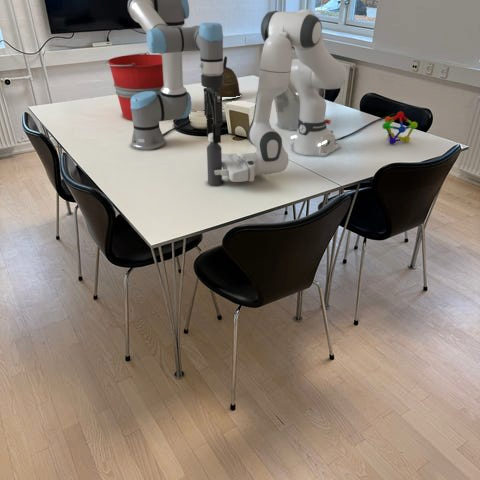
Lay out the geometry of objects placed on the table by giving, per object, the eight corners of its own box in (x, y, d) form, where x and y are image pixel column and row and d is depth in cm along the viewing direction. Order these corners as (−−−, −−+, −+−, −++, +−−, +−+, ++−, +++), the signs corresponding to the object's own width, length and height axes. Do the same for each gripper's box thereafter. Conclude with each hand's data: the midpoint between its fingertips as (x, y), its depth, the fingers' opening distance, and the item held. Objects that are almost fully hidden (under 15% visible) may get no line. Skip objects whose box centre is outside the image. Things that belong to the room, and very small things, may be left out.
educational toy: (377, 146, 209) (379, 114, 202) (384, 138, 219) (386, 107, 211) (411, 149, 202) (415, 116, 195) (417, 141, 212) (420, 109, 204)
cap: (210, 137, 164) (210, 132, 163) (221, 139, 163) (221, 133, 162) (206, 141, 161) (206, 135, 160) (217, 142, 160) (216, 136, 159)
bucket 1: (122, 105, 263) (114, 51, 248) (180, 106, 263) (177, 52, 247) (105, 123, 234) (95, 63, 218) (171, 124, 233) (166, 64, 217)
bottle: (206, 181, 173) (204, 134, 163) (219, 179, 174) (218, 133, 164) (210, 186, 168) (208, 139, 159) (223, 185, 170) (223, 138, 160)
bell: (227, 105, 294) (202, 96, 282) (238, 66, 289) (213, 55, 277) (243, 108, 280) (217, 98, 268) (255, 66, 275) (229, 55, 263)
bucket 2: (296, 138, 215) (301, 78, 201) (255, 124, 234) (256, 68, 219) (335, 125, 232) (342, 70, 217) (294, 113, 251) (297, 61, 236)
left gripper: (193, 69, 156) (196, 132, 169) (210, 80, 141) (212, 149, 153) (213, 67, 159) (215, 130, 171) (232, 78, 143) (232, 147, 156)
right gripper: (239, 148, 178) (206, 151, 175) (255, 167, 161) (218, 171, 158) (239, 162, 181) (206, 166, 178) (255, 183, 165) (218, 187, 161)
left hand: (213, 139), depth 162 cm, fingers open, 6 cm apart
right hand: (212, 168), depth 168 cm, fingers closed on bottle, 5 cm apart
